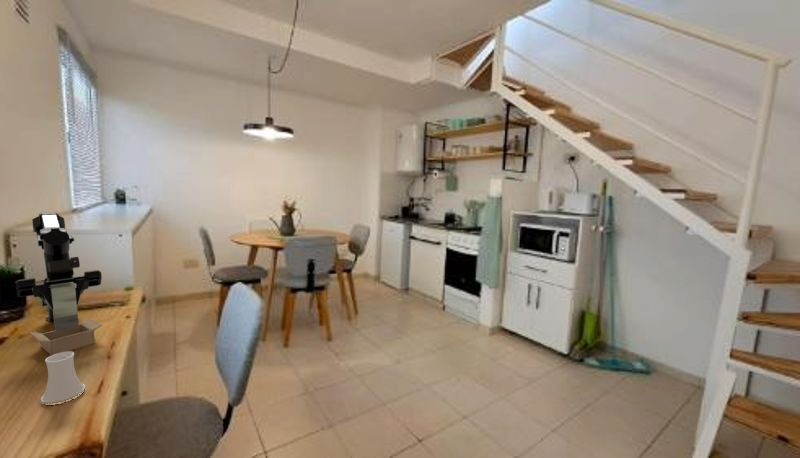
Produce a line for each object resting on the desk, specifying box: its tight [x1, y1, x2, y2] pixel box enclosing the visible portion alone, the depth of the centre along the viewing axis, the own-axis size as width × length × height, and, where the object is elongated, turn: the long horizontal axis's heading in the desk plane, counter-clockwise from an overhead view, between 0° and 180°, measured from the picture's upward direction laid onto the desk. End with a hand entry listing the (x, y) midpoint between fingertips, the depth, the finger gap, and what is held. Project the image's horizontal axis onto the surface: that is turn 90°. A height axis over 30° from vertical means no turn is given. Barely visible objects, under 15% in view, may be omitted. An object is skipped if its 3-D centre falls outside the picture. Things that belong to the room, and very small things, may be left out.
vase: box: [40, 351, 86, 405], centre depth 81 cm, size 8×8×10 cm
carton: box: [29, 317, 102, 356], centre depth 105 cm, size 12×14×5 cm
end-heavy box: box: [50, 282, 80, 331], centre depth 105 cm, size 5×5×13 cm
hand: (65, 306), depth 104 cm, fingers closed on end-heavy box, 5 cm apart
